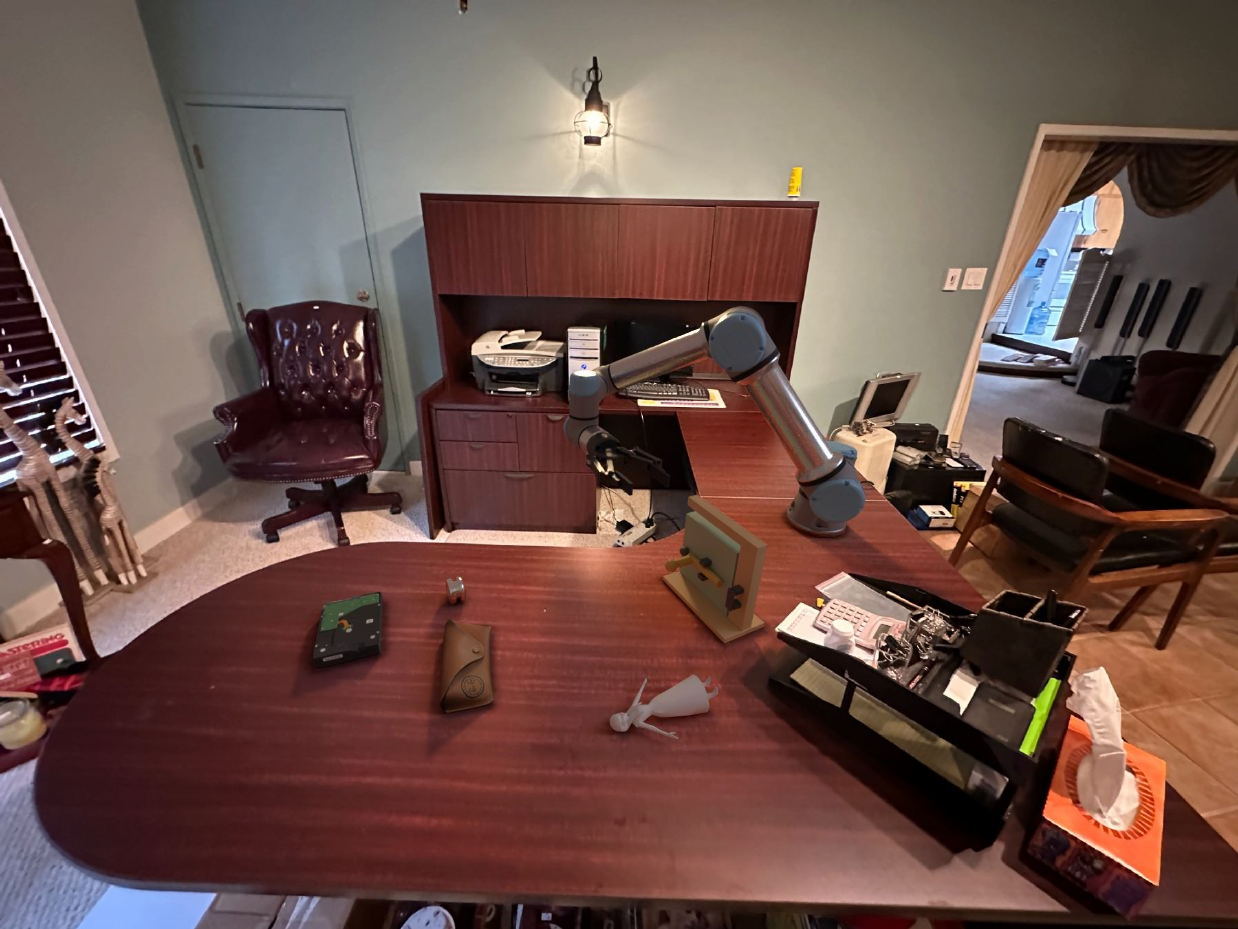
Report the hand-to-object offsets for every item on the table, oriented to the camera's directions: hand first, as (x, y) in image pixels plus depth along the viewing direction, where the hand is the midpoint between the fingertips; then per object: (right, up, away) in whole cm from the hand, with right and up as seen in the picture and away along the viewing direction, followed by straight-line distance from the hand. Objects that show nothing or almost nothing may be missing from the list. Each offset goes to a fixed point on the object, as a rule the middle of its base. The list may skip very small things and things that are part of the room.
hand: (650, 485), depth 102 cm
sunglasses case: (-32, -30, -17) cm, 48 cm away
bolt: (+8, -19, -3) cm, 20 cm away
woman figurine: (+1, -35, -23) cm, 42 cm away
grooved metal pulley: (-39, -23, -2) cm, 46 cm away
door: (+13, -24, +1) cm, 27 cm away
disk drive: (-55, -27, -11) cm, 63 cm away
